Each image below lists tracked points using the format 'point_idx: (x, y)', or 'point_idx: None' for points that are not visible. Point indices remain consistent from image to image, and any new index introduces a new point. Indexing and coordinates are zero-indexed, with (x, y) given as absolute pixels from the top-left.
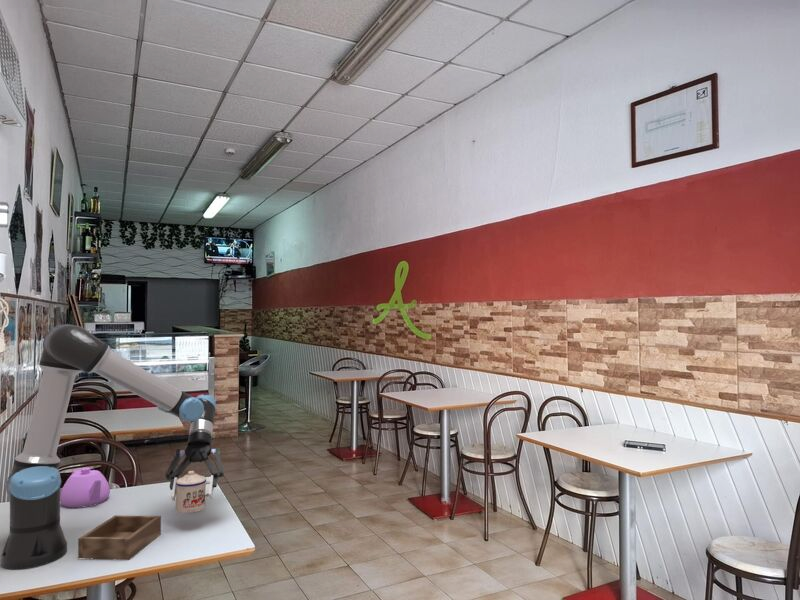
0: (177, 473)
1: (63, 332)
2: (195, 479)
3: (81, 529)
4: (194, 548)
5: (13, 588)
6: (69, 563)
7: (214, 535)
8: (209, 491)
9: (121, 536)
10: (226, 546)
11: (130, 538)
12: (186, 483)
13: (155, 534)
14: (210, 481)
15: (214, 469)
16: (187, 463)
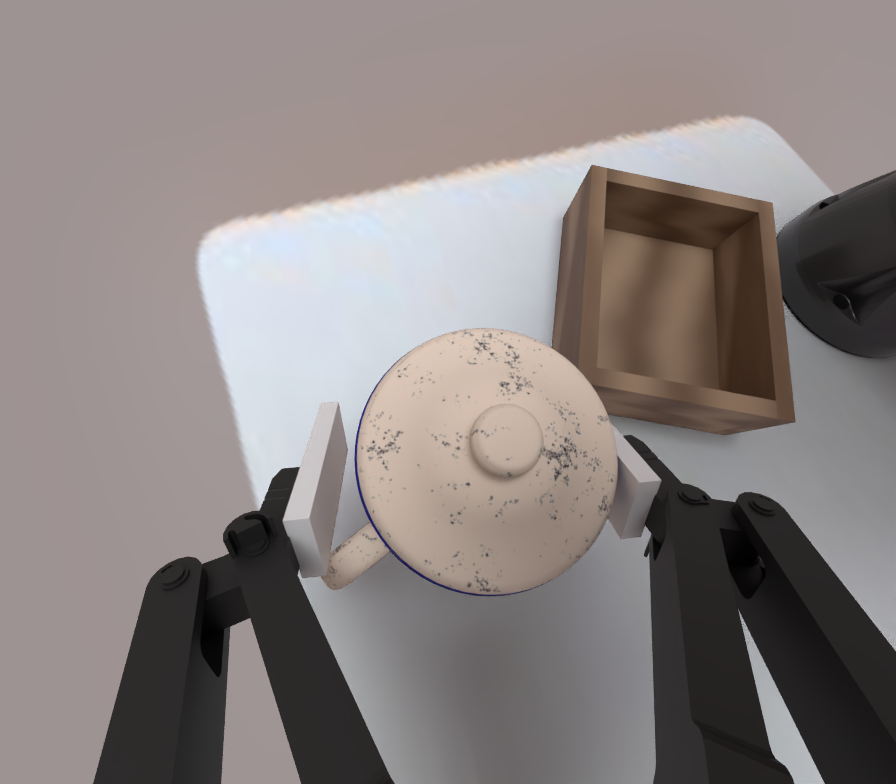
0: (669, 528)
1: None
2: (434, 375)
3: (881, 501)
4: (382, 260)
5: (758, 126)
6: None
7: (329, 360)
8: (331, 413)
9: (676, 366)
10: (271, 256)
11: (591, 171)
12: (494, 329)
13: None
14: (318, 470)
15: (254, 597)
16: (672, 735)
